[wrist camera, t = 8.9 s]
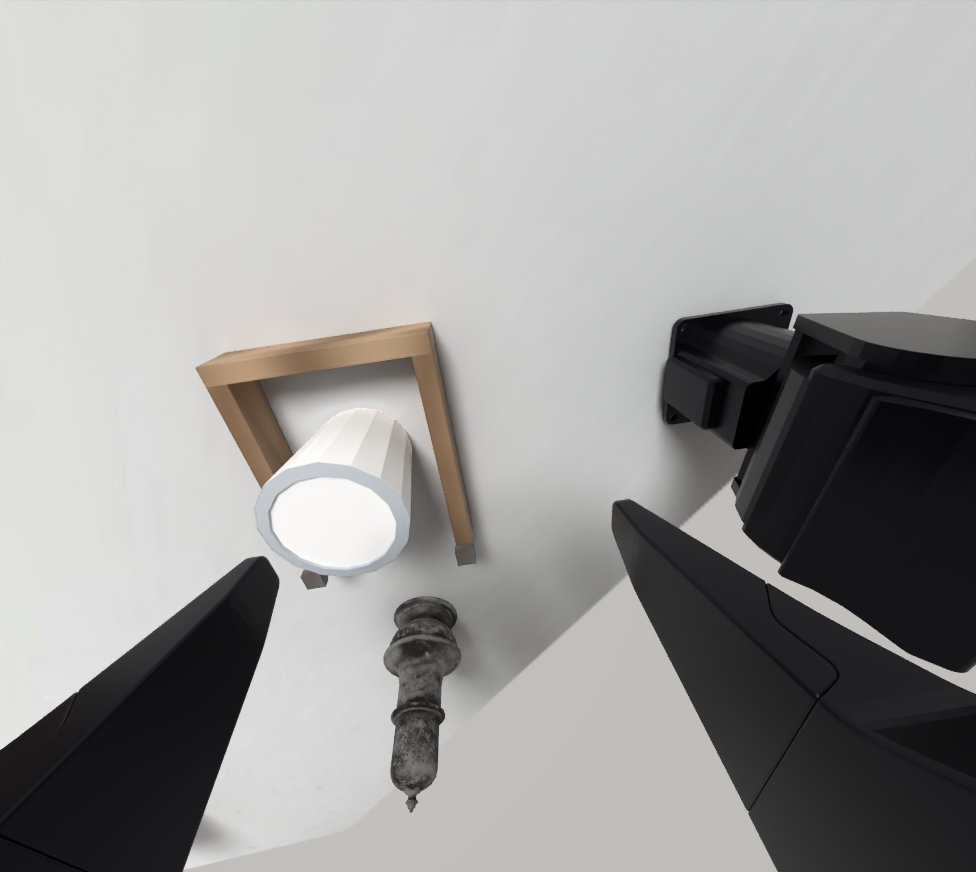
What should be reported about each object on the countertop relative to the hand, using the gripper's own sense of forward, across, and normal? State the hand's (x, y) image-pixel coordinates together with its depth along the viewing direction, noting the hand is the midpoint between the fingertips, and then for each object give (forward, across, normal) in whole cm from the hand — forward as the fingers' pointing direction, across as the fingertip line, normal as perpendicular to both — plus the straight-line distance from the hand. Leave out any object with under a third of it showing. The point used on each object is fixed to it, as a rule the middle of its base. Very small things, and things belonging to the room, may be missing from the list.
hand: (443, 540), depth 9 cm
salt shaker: (+13, +6, +21) cm, 25 cm away
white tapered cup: (+13, +6, +4) cm, 15 cm away
